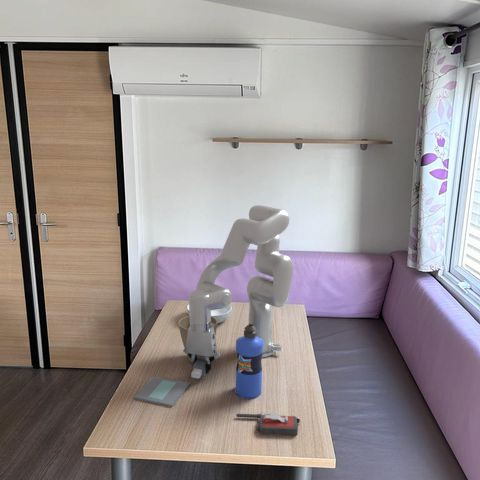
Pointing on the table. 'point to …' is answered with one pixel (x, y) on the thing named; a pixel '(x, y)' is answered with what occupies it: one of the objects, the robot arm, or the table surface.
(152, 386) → the dock pad
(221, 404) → the table surface
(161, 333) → the table surface
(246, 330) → the water bottle
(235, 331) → the table surface
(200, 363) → the usb plug
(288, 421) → the walkie-talkie
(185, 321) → the plant pot
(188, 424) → the table surface
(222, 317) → the serving bowl
